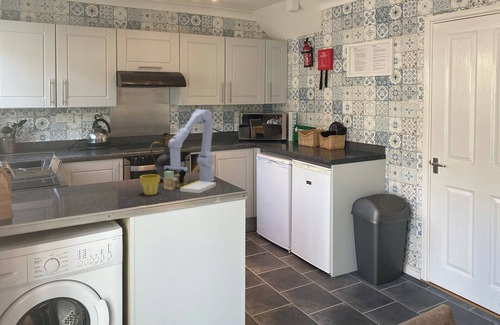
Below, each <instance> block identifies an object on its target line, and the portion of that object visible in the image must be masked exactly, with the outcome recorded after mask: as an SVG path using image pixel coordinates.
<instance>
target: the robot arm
mask: <svg viewBox="0 0 500 325" xmlns="http://www.w3.org/2000/svg"><path fill="white" fill-rule="evenodd" d="M199 122H200V123H201V124H202V125H203V131H202V141H201V150H200V152H199V153H198V156H197V158H196V163H197V165H198V167H199V168H198V169H199V171H198V173H199V180H197V181H204V182H214V181H216V179H215V177H214V176H215V174H214V173H215V172H214V171H215V170H214V168H213V165H214V161H215V160H214V158H213V157H214V156H213V153H212V152H211V150H212V139H213V138H212V137H213V130H214V129H213V128H214V122H213V113H212V112H211V111H210V110H209V109H200V108H198V109H197V108H196V109H195V110H194V112H193V113H192V115H191V116H190V118H189V120H188V121H187V123H186V124H185V125H184V127H182V128H179V129H178V130H177V132H176V134H175V135H173V136H174V138H172V139H170V141H169V143H168V146H169V148H170V162H171V166H164V169H165V171H173V170H180V171H179V176H180V183H183V180H184V177H185V174H186V172H187V173H188V167H187V166H182V167H181V165H182V161H181V148H182V147H183V143H184V141H186V139H187V137H188V136H189V135H190V134H189V132H190V130H191V129H192V128H193V127H194V126H195V125H196V124H197V123H199ZM180 161H181V162H180Z"/></svg>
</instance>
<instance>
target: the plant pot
mask: <svg viewBox="0 0 500 325" xmlns="http://www.w3.org/2000/svg"><path fill="white" fill-rule="evenodd" d="M160 179H161V176H160V175H159V174H143V175H140V176H139V182H140V184H141V186H142V190H143V193H144V195H145V196H153V195H156V194H157V193H158V189H159V183H160V182H161V180H160Z"/></svg>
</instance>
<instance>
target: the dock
mask: <svg viewBox="0 0 500 325" xmlns="http://www.w3.org/2000/svg"><path fill="white" fill-rule="evenodd" d="M216 186H217V182H214V181H211V182H204V181H198V180H196V181H194V182H190V183H188V184H186V185H182V186H181V187H179V191H180V192H183V193H192V194H201V193H203V192H206V191H208V190H210V189H213V188H214V187H216Z"/></svg>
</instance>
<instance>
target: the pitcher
mask: <svg viewBox="0 0 500 325" xmlns="http://www.w3.org/2000/svg"><path fill="white" fill-rule="evenodd" d="M174 136H175V135H170V133H168V132H164V133H162V135H161V136H160V138H161V140H162V141H153V142H152V143H151V144H150V146H149V151H150V154H151V157H152V159H153V161H154V163H155V164H154V167H153V170H152V172H154V170H156V172H157V175H159V176H160V178H162V182H164V180H163V179H164V172H165V169H164V166H171V162H170V148H169V146H168V143H169V141H170V139H172V138H174ZM155 145H160V146H162V147H163V154H161V155H159V157H158V158H155V156H154V153H153V147H154V146H155ZM180 162H181V163H182V161H181V160H180ZM182 165H183V164H181V167H183V166H182ZM173 171H174V175H177V174H178V170H173Z"/></svg>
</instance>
